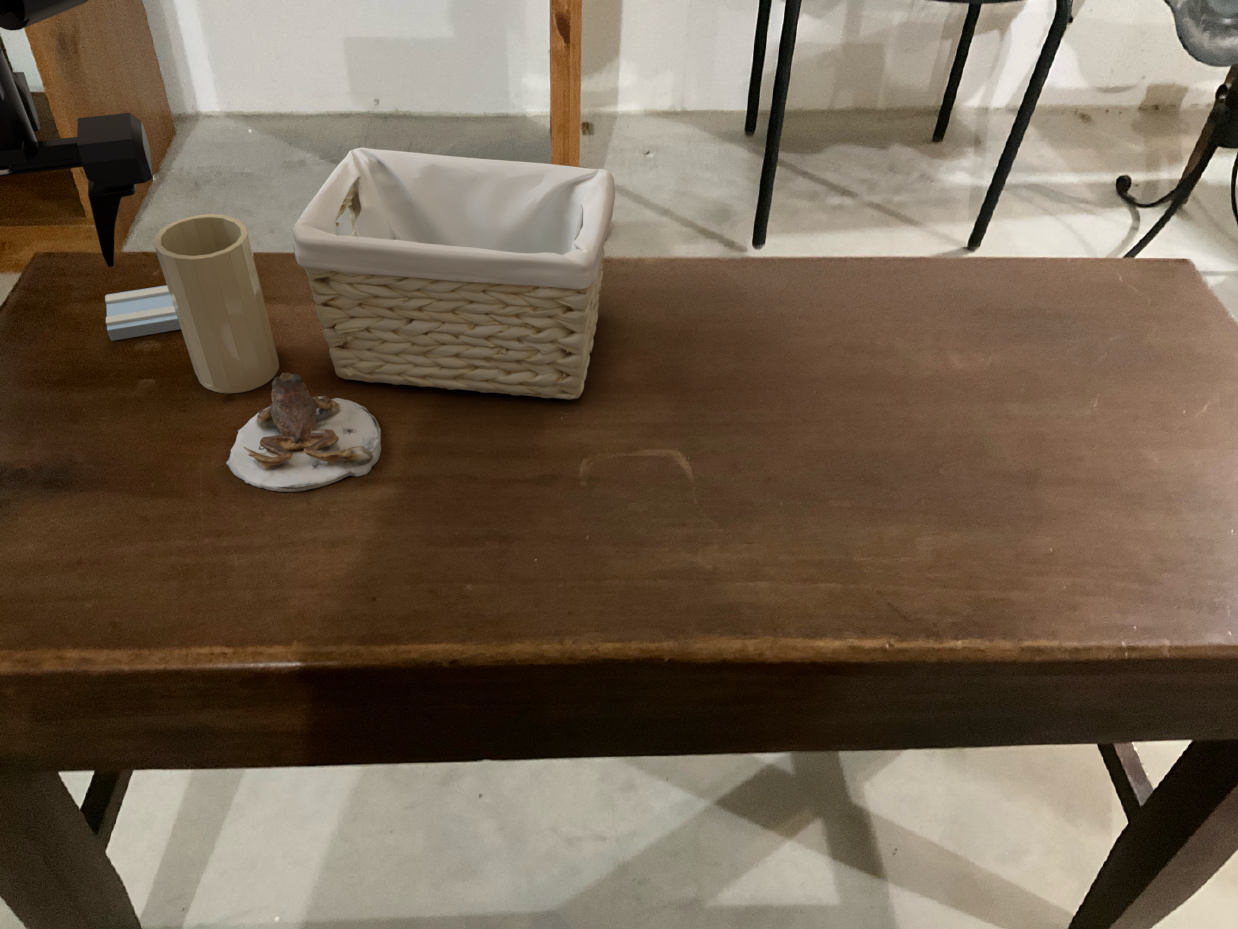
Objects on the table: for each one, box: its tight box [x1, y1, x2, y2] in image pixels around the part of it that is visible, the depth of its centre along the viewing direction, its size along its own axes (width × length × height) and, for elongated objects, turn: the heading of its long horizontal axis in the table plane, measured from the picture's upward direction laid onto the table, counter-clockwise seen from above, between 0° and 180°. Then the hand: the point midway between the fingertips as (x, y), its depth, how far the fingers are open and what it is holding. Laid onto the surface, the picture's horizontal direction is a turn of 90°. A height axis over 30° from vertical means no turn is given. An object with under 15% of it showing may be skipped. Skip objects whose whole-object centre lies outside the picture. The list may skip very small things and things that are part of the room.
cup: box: [153, 213, 280, 394], centre depth 79 cm, size 7×7×13 cm
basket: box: [292, 147, 616, 401], centre depth 82 cm, size 24×16×15 cm
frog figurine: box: [225, 372, 382, 493], centre depth 75 cm, size 12×12×4 cm
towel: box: [104, 284, 181, 342], centre depth 88 cm, size 10×6×2 cm, turn 112°
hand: (42, 274), depth 69 cm, fingers open, 9 cm apart
